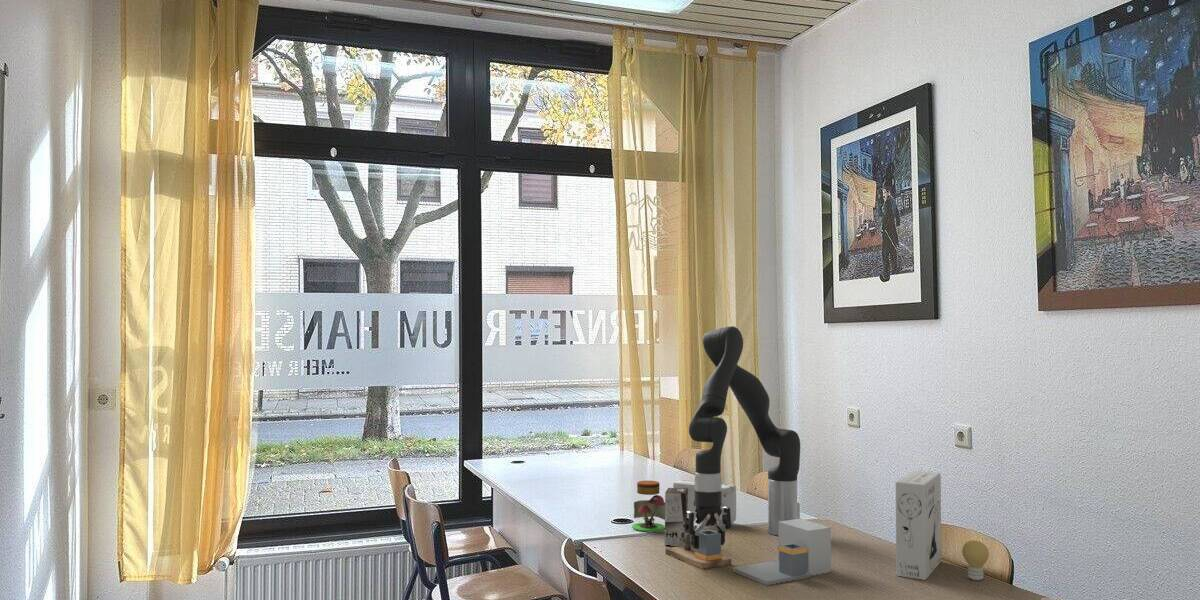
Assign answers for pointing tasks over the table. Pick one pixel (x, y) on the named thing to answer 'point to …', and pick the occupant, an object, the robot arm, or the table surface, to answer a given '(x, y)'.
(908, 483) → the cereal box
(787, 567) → the sleeve
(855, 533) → the table surface
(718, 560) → the pin board
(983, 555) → the light bulb
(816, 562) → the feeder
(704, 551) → the sleeve
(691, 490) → the stereo radio cassette player
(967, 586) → the table surface
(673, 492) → the coffee box
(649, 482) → the red mushroom
